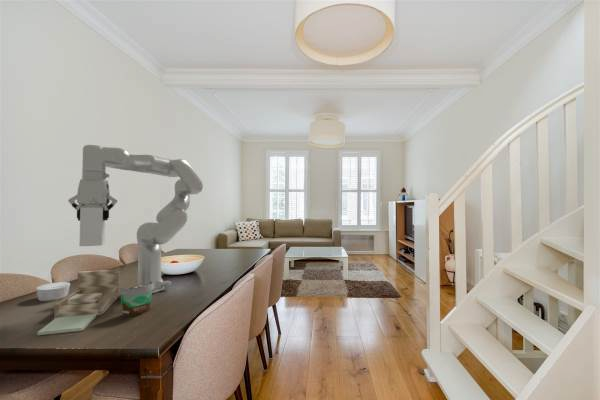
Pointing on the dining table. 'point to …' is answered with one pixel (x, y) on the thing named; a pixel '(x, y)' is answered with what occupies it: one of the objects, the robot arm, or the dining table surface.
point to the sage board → (67, 324)
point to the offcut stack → (84, 299)
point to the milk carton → (92, 225)
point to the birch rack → (87, 285)
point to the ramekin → (52, 291)
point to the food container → (136, 299)
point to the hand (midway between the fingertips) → (93, 220)
